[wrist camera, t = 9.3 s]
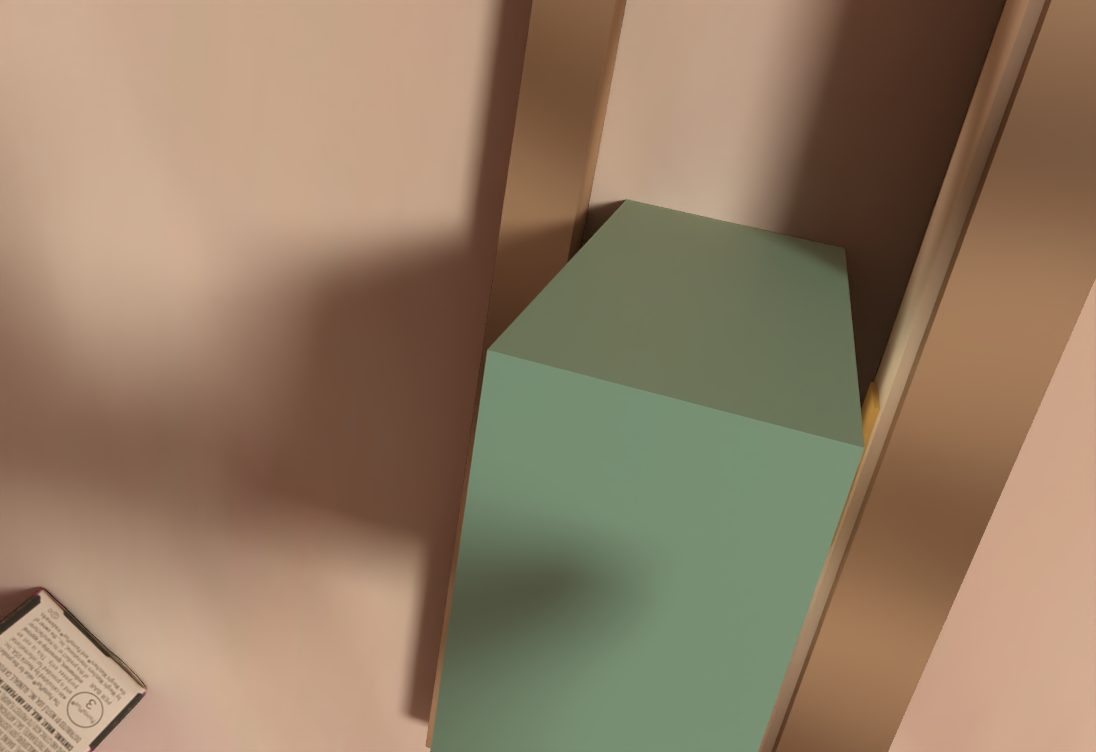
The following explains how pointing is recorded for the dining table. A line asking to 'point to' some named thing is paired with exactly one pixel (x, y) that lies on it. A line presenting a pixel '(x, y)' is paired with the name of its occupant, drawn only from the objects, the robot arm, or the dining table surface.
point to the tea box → (652, 492)
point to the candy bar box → (58, 682)
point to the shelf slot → (911, 351)
